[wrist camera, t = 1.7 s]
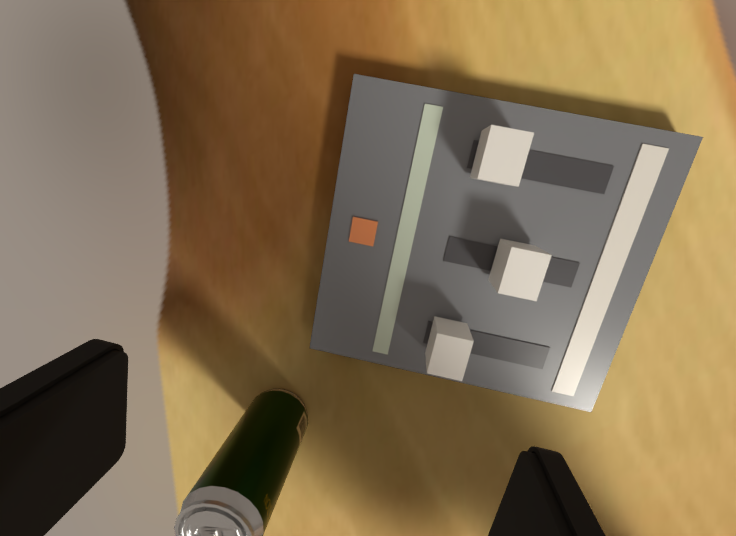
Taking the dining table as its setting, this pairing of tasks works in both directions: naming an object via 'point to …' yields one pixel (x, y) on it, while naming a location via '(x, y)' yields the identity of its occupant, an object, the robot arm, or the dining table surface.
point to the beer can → (247, 470)
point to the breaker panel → (491, 237)
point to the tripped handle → (519, 269)
